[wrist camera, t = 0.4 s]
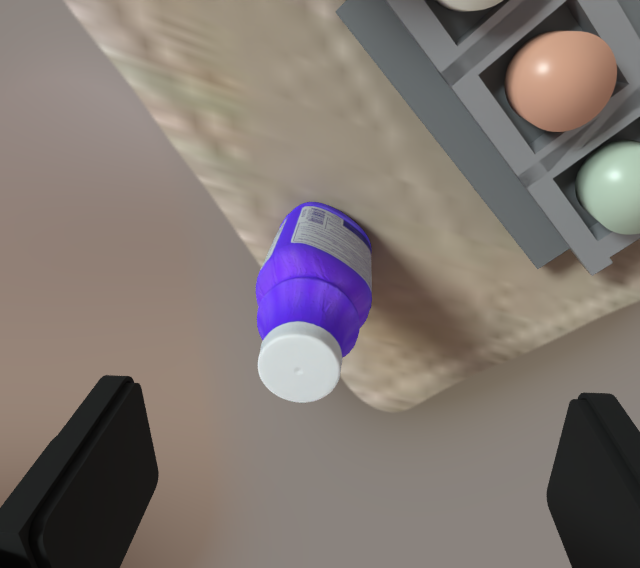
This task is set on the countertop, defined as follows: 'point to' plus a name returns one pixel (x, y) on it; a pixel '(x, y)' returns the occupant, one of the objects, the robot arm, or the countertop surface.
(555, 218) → the grey compartment tray
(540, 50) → the peach rounded dome
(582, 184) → the sage button
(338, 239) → the bottle
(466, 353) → the countertop surface
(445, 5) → the cream button
